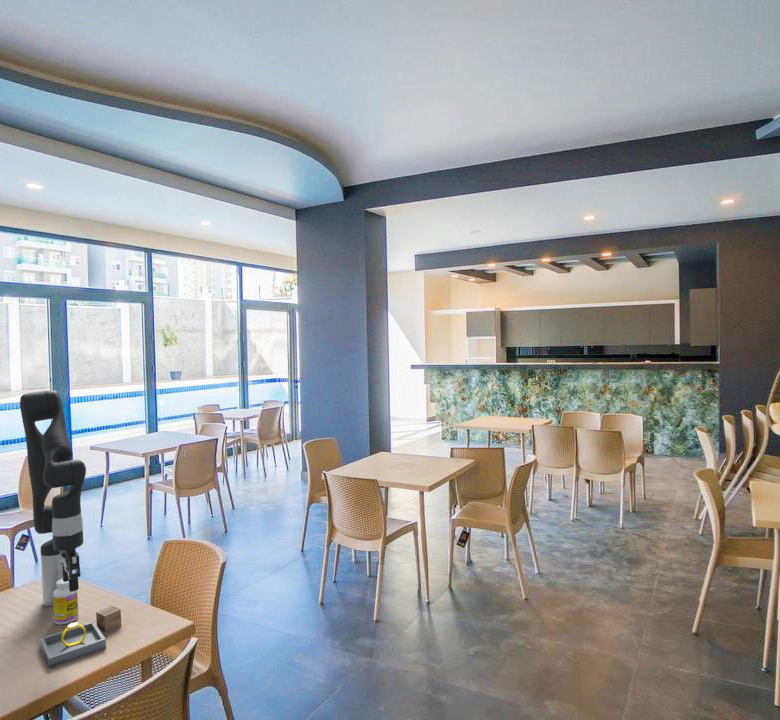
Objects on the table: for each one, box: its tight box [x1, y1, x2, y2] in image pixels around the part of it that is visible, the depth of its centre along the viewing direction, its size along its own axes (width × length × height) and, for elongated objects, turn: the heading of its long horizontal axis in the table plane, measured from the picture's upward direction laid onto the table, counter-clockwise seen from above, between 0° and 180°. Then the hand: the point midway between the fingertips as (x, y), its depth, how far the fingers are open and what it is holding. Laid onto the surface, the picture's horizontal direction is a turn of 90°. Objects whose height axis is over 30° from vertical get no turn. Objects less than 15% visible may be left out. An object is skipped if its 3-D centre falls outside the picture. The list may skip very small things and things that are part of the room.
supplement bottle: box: [53, 579, 79, 626], centre depth 174 cm, size 7×7×13 cm
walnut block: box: [95, 605, 122, 633], centre depth 169 cm, size 5×5×5 cm
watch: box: [62, 621, 86, 647], centre depth 158 cm, size 6×3×6 cm, turn 126°
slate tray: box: [39, 620, 107, 669], centre depth 157 cm, size 14×14×3 cm
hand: (70, 585), depth 157 cm, fingers open, 8 cm apart
